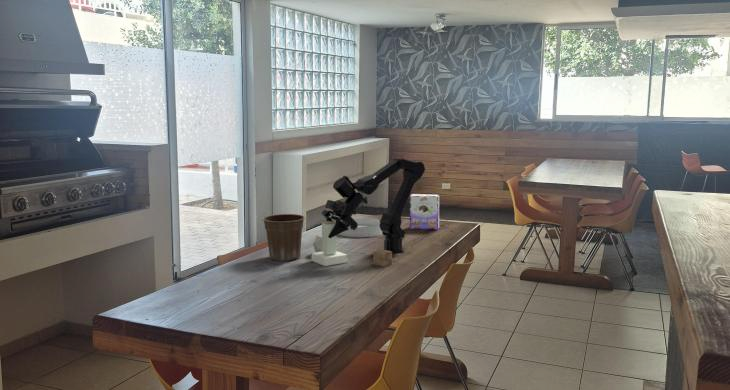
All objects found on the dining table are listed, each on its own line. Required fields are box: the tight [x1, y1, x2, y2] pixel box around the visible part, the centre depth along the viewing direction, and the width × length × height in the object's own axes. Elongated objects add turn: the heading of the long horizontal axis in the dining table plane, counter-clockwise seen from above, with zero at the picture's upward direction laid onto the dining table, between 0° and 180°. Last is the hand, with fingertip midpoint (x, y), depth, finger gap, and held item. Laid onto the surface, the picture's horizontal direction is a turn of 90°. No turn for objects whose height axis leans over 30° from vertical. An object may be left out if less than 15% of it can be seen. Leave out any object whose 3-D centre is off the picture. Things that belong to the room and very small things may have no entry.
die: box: [312, 234, 322, 253], centre depth 262 cm, size 8×9×10 cm
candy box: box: [409, 193, 440, 231], centre depth 313 cm, size 14×6×16 cm, turn 77°
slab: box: [311, 250, 348, 267], centre depth 250 cm, size 10×10×3 cm
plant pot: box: [262, 213, 305, 262], centre depth 256 cm, size 16×16×16 cm
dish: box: [338, 217, 383, 238], centre depth 305 cm, size 22×22×5 cm
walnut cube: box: [372, 249, 393, 267], centre depth 246 cm, size 5×5×5 cm
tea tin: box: [321, 221, 338, 255], centre depth 249 cm, size 4×4×12 cm
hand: (326, 236), depth 248 cm, fingers closed on tea tin, 4 cm apart
